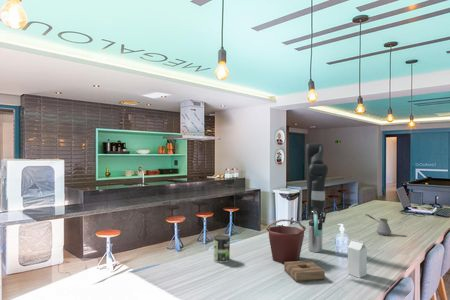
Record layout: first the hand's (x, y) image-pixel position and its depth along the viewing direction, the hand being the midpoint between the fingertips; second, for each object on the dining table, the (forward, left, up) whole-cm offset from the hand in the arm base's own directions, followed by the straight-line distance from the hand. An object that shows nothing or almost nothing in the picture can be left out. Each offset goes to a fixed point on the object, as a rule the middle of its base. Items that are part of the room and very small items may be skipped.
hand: (317, 228), depth 175 cm
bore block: (+4, -10, -24) cm, 27 cm away
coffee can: (-28, -50, -24) cm, 63 cm away
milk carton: (+8, +20, -24) cm, 32 cm away
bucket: (-22, -10, -24) cm, 34 cm away
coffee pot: (-71, +94, -24) cm, 120 cm away
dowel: (0, 0, -4) cm, 4 cm away
